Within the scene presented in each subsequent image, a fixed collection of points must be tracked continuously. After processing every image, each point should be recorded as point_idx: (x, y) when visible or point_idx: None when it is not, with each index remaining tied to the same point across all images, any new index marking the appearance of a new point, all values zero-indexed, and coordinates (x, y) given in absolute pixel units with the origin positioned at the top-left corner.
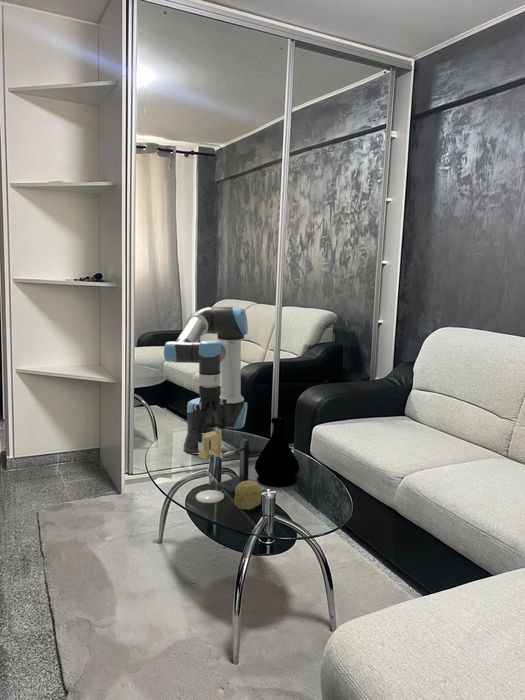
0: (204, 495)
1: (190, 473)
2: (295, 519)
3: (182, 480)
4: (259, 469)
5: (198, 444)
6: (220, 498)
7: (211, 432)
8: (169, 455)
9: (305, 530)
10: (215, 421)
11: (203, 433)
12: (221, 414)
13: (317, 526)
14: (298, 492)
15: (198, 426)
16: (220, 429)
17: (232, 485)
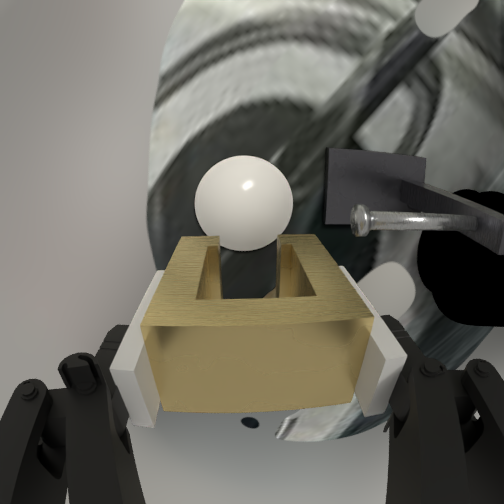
0: (230, 189)
1: (324, 2)
2: (309, 408)
3: (263, 24)
4: (442, 257)
5: (147, 295)
6: (256, 244)
7: (313, 344)
8: None
9: (285, 433)
10: (419, 422)
11: (142, 423)
12: (497, 481)
13: (311, 433)
14: (424, 330)
15: (59, 483)
16: (369, 414)
17: (353, 198)
